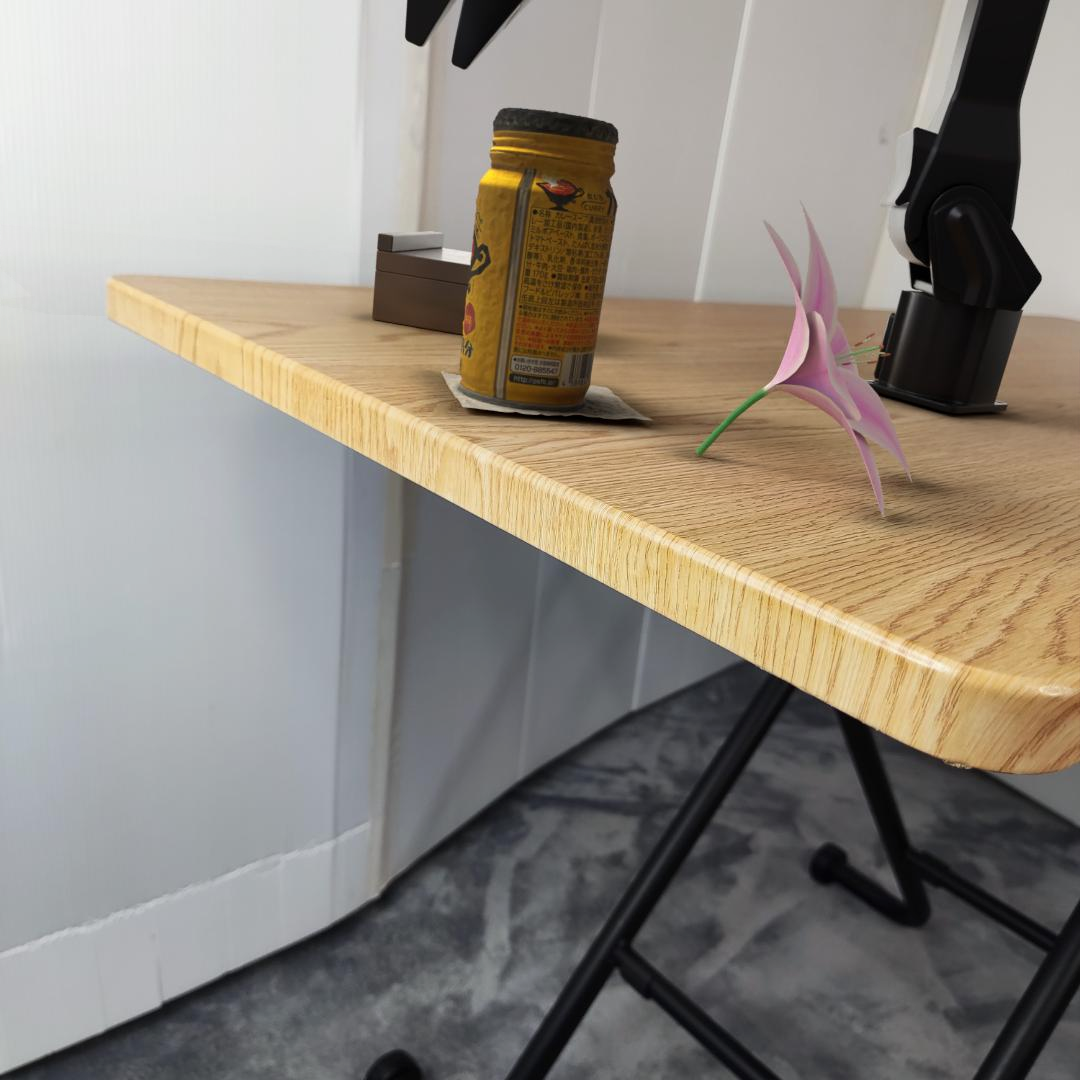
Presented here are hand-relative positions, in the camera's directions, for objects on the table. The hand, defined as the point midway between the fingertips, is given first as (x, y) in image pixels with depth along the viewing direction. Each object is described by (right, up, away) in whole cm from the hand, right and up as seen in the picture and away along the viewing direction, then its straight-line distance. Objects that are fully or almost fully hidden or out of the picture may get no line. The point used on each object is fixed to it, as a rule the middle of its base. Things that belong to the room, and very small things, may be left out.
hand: (437, 56), depth 58 cm
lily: (+16, -27, -21) cm, 38 cm away
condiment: (+6, -23, -14) cm, 28 cm away
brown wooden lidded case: (+2, -15, +5) cm, 16 cm away
